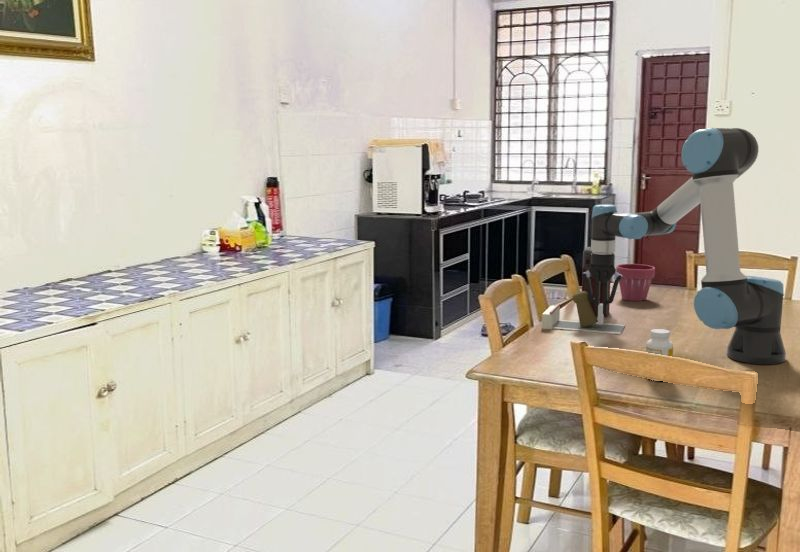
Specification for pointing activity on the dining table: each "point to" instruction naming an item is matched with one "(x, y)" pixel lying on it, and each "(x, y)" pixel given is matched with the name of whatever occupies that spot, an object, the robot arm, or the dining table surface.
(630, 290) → the plant pot
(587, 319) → the cork
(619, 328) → the mat
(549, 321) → the stop block
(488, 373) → the dining table surface
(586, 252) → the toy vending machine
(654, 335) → the supplement bottle
